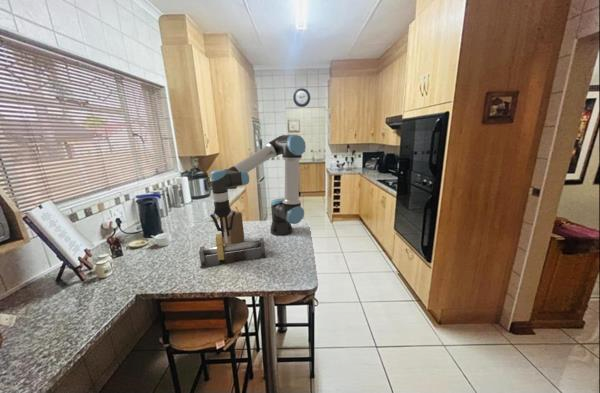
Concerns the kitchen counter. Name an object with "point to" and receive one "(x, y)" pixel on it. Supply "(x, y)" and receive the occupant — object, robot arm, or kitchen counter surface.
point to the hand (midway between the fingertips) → (226, 241)
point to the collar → (220, 246)
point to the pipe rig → (233, 253)
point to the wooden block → (234, 229)
